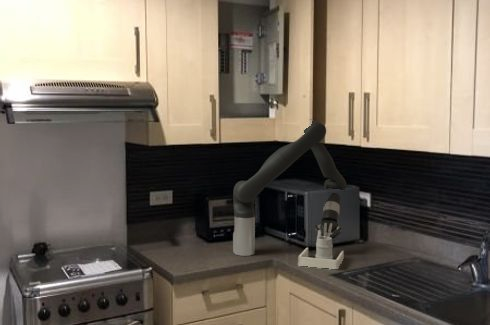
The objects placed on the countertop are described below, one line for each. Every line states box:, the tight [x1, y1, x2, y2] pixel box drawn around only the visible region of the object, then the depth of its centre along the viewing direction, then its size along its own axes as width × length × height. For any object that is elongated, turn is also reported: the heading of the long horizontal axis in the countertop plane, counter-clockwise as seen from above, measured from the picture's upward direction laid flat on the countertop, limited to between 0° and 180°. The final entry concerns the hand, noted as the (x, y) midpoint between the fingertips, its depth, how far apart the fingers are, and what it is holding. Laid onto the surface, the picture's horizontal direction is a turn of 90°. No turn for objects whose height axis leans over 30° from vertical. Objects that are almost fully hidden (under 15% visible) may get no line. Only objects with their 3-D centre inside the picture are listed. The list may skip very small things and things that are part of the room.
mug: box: [314, 229, 334, 260], centre depth 238 cm, size 8×12×12 cm, turn 15°
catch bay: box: [297, 247, 345, 270], centre depth 232 cm, size 17×17×4 cm
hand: (325, 245), depth 241 cm, fingers closed
